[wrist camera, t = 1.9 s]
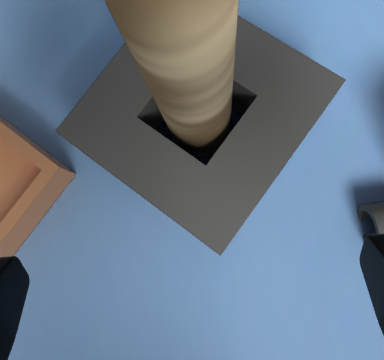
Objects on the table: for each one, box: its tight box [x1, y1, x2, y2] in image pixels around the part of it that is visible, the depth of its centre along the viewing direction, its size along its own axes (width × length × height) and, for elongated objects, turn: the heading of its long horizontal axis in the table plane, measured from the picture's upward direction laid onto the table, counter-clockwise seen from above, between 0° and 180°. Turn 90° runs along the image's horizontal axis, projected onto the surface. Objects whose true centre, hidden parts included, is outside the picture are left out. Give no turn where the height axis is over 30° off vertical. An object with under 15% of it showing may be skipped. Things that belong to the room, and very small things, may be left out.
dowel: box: [105, 0, 238, 156], centre depth 16 cm, size 4×4×14 cm
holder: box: [55, 15, 346, 256], centre depth 21 cm, size 12×12×4 cm
